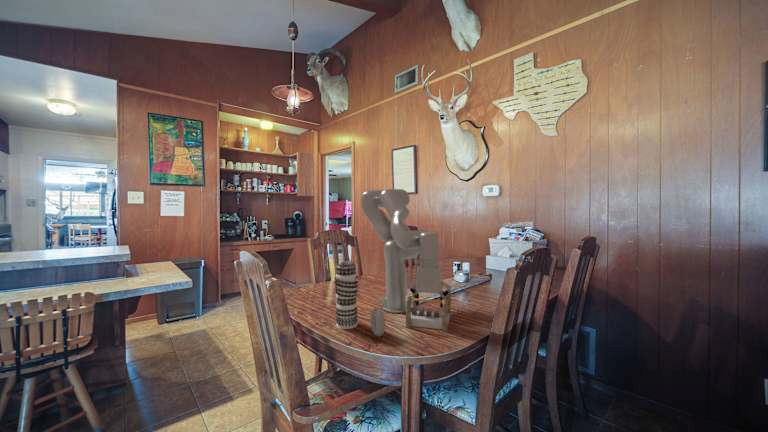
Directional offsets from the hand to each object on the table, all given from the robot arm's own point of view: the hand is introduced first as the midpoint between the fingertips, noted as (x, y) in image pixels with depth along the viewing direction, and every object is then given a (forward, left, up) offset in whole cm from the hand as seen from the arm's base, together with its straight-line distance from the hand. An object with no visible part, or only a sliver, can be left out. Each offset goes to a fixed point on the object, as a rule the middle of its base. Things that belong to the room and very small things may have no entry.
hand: (429, 305), depth 122 cm
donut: (-16, -17, -7) cm, 24 cm away
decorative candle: (-31, -11, -7) cm, 34 cm away
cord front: (0, -6, +4) cm, 7 cm away
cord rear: (0, +7, +3) cm, 7 cm away
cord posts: (0, 0, -7) cm, 7 cm away
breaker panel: (0, 0, -7) cm, 7 cm away
